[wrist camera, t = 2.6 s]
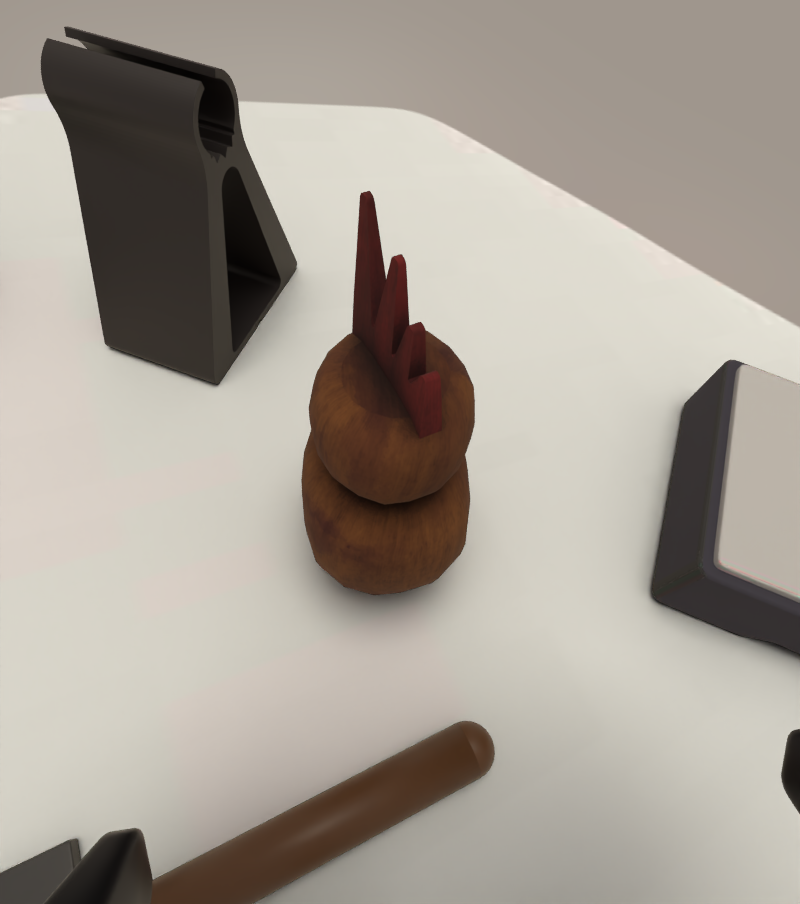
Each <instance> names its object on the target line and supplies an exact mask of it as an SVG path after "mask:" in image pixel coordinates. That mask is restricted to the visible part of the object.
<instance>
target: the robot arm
mask: <svg viewBox="0 0 800 904" xmlns="http://www.w3.org/2000/svg"><path fill="white" fill-rule="evenodd" d="M781 778H782V783H783V786H784V789H785V791H786V793H787V795H788V797H789V798H790V800H791V801H792V803H793V804H794V806H795V807H796V809H797V811H798V812H799V814H800V729H797V730H794V731H792V732H791V733H790V734H789V735H788V738H787V743H786V749H785V755H784V761H783V767H782V772H781ZM151 897H152V874H151V869H150V864H149V859H148V854H147V849H146V845H145V840H144V836H143V833H142V832H141V830H140V829H137V828H132V829H126V830H119V831H112V832H109V833H107V834H105V835H104V836H103V837H101V838H100V839H99V840H98V842H97V843H96V844H95V845H94V846H93V847H92V848H91V850H90V851H89V852H88V853H87V854H86V855H85V856H84V858H83V859H82V860H81V861H80V862H79V863H78V864H77V866H76V867H75V868H74V869H73V870H72V871H71V872H70V874H69V875H68V876H67V877H66V878H65V879H64V880H63V882H62V883H61V884H60V885H59V886H58V887H57V888H56V890H55V891H54V892H53V893H52V894H51V895H50V896H49V898H48V899H47V900H46V901H45V902H44V903H43V904H150V903H151Z"/></svg>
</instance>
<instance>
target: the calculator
mask: <svg viewBox="0 0 800 904" xmlns="http://www.w3.org/2000/svg"><path fill="white" fill-rule="evenodd" d="M652 591H653V595H654V597H655V598H656V599H657V600H658V601H660V602H662V603H663V604H666V605H668V606H670V607H673V608H675V609H678V610H680V611H682V612H685V613H687V614H689V615H692V616H694V617H697V618H699V619H701V620H704V621H706V622H708V623H711V624H713V625H716V626H718V627H720V628H723V629H725V630H727V631H730V632H732V633H735V634H737V635H740V636H745V637H750V638H754V639H759V640H764V641H769V642H772V643H775V644H778V645H780V646H782V647H785V648H787V649H790V650H792V651H794V652H797V653H799V654H800V384H797V383H795V382H792V381H789V380H787V379H784V378H782V377H779V376H776V375H774V374H771V373H768V372H766V371H763V370H760V369H758V368H755V367H752V366H750V365H747V364H744V363H742V362H739V361H736V360H729V361H727V362H725V363H724V364H723V365H722V366H721V367H720V368H719V369H718V370H717V371H716V372H715V373H714V374H713V375H712V376H711V377H710V378H709V379H708V380H707V381H706V382H705V383H704V384H703V385H702V386H701V388H700V389H699V390H698V391H697V392H696V393H695V394H694V395H693V396H692V397H691V398H690V399H689V400H688V401H687V402H686V403H685V405H684V409H683V415H682V421H681V426H680V432H679V438H678V444H677V449H676V455H675V461H674V467H673V472H672V478H671V484H670V489H669V495H668V501H667V507H666V512H665V518H664V524H663V529H662V535H661V541H660V547H659V552H658V558H657V564H656V569H655V575H654V581H653V588H652Z"/></svg>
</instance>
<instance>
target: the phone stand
mask: <svg viewBox="0 0 800 904" xmlns="http://www.w3.org/2000/svg"><path fill="white" fill-rule="evenodd" d="M64 28H65V33H66V37H70V38H74V39H78V40H79V41H80V42H81V43H82V44H83V45H84V46H85V47H86V48H87V49H84V48H80V47H77V46H73V45H70V44H66V43H63V42H59V41H56V40H52V39H47V40H46V42H45V44H44V47H43V51H42V56H41V75H42V81H43V85H44V88H45V91H46V94H47V96H48V98H49V100H50V102H51V104H52V106H53V107H54V109H55V110H56V112H57V114H58V116H59V118H60V120H61V122H62V124H63V127H64V129H65V132H66V135H67V138H68V142H69V146H70V151H71V156H72V162H73V167H74V173H75V179H76V184H77V190H78V195H79V201H80V207H81V212H82V218H83V223H84V229H85V235H86V240H87V246H88V251H89V257H90V262H91V268H92V274H93V279H94V285H95V290H96V296H97V302H98V307H99V313H100V318H101V324H102V330H103V335H104V341H105V344H106V345H107V346H109V347H112V348H115V349H118V350H121V351H124V352H126V353H129V354H132V355H135V356H138V357H141V358H144V359H146V360H149V361H152V362H155V363H158V364H161V365H164V366H166V367H169V368H172V369H175V370H178V371H181V372H183V373H186V374H189V375H192V376H195V377H198V378H201V379H203V380H206V381H209V382H212V383H215V384H219V383H220V381H221V380H222V379H223V377H224V376H225V374H226V373H227V371H228V370H229V368H230V367H231V365H232V364H233V362H234V361H235V359H236V358H237V356H238V355H239V353H240V352H241V350H242V349H243V347H244V346H245V344H246V343H247V341H248V340H249V338H250V337H251V336H252V334H253V333H254V331H255V330H256V328H257V327H258V323H259V320H262V319H263V318H264V316H265V315H266V313H267V312H268V310H269V309H270V307H271V306H272V304H273V303H274V301H275V300H276V298H277V297H278V296H279V294H280V293H281V291H282V290H283V288H284V287H285V285H286V284H287V282H288V281H289V279H290V278H291V276H292V275H293V273H294V272H295V270H296V266H297V261H296V259H295V257H294V254H293V252H292V250H291V247H290V245H289V243H288V241H287V238H286V236H285V234H284V231H283V229H282V227H281V225H280V222H279V220H278V218H277V215H276V213H275V211H274V209H273V206H272V204H271V202H270V199H269V197H268V195H267V193H266V190H265V188H264V186H263V183H262V181H261V179H260V177H259V174H258V172H257V170H256V168H255V165H254V163H253V161H252V158H251V156H250V154H249V152H248V149H247V147H246V144H245V141H244V138H243V134H242V130H241V124H240V117H239V107H238V98H237V94H236V89H235V86H234V84H233V81H232V79H231V78H230V76H229V75H228V74H227V73H226V72H225V71H224V70H222V69H219V68H216V67H212V66H208V65H205V64H201V63H197V62H194V61H190V60H186V59H183V58H179V57H176V56H172V55H168V54H165V53H162V52H158V51H154V50H151V49H147V48H143V47H140V46H136V45H132V44H129V43H125V42H122V41H118V40H115V39H111V38H108V37H104V36H100V35H97V34H93V33H90V32H86V31H82V30H79V29H75V28H72V27H64Z"/></svg>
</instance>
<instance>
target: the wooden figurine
mask: <svg viewBox="0 0 800 904" xmlns="http://www.w3.org/2000/svg"><path fill="white" fill-rule="evenodd" d="M309 416H310V424H311V432H310V436H309V439H308V442H307V445H306V448H305V451H304V459H303V470H302V497H303V509H304V521H305V526H306V531H307V535H308V538H309V541H310V544H311V547H312V550H313V553H314V557H315V560H316V562H317V563H318V564H319V565H320V566H321V567H322V568H323V569H324V570H325V571H326V572H327V573H329V574H330V575H331V576H332V577H333V578H334V579H336V580H337V581H338V582H339V583H340V584H341V585H343V586H344V587H347V588H351V589H354V590H358V591H362V592H365V593H369V594H372V595H380V594H391V593H401V592H404V591H407V590H410V589H414V588H417V587H420V586H423V585H427V584H430V583H432V582H433V581H435V580H436V579H438V578H439V577H440V576H441V575H442V574H443V573H444V571H445V570H446V569H447V568H448V567H449V566H450V565H451V564H452V563H453V562H454V561H455V560H456V558H457V557H458V556H459V555H460V554H461V552H462V549H463V547H464V545H465V541H466V532H467V523H468V514H469V505H470V492H469V480H468V470H467V462H466V457H465V453H466V451H467V448H468V445H469V442H470V439H471V436H472V432H473V428H474V423H475V399H474V387H473V384H472V382H471V380H470V377H469V375H468V373H467V370H466V368H465V366H464V364H463V363H462V362H461V361H460V359H459V358H458V357H457V356H456V354H455V353H454V352H453V351H452V349H451V348H450V347H449V346H447V345H446V344H445V343H443V342H442V341H441V340H439V339H438V338H436V337H435V336H434V335H432V334H431V333H429V332H428V331H425V328H424V326H423V324H422V323H421V322H418V323H415V324H412V325H409V311H408V292H407V273H406V262H405V259H404V257H403V256H402V255H401V254H400V255H397V256H394V257H392V259H391V263H390V267H389V270H388V274H387V278H386V276H385V269H384V263H383V256H382V249H381V242H380V236H379V229H378V222H377V215H376V208H375V202H374V198H373V195H372V194H371V192H370V191H367V192H363V193H361V195H360V207H359V223H358V239H357V255H356V270H355V286H354V304H353V329H352V333H351V334H349V335H347V336H346V337H345V338H344V339H343V340H341V341H340V342H339V343H338V344H337V345H336V346H335V347H333V348H332V349H331V350H330V351H329V352H328V354H327V356H326V357H325V359H324V361H323V362H322V364H321V366H320V368H319V369H318V371H317V374H316V377H315V380H314V384H313V389H312V394H311V399H310V404H309Z"/></svg>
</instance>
